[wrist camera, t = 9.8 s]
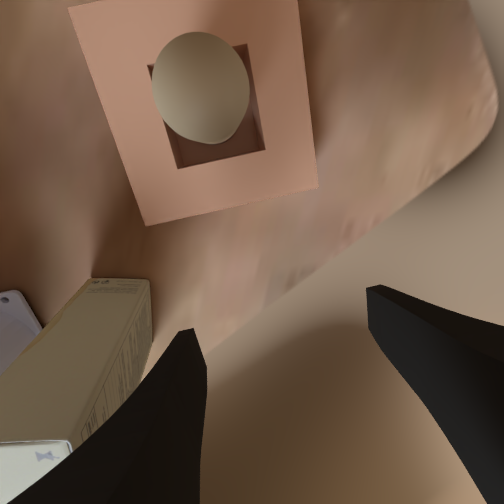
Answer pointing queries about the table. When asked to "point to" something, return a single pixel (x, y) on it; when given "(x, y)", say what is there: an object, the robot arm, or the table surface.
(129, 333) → the skincare box
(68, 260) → the table surface
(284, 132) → the socket block
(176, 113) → the beech peg
